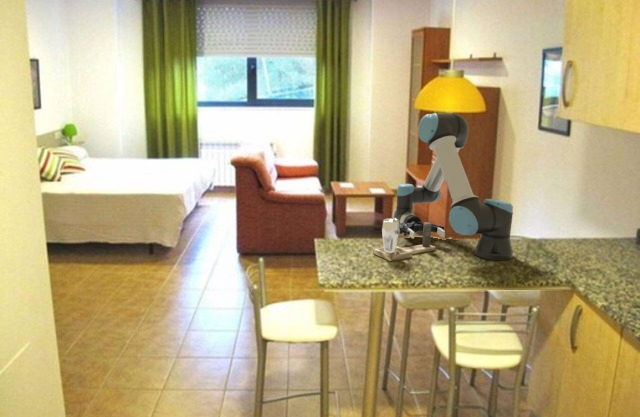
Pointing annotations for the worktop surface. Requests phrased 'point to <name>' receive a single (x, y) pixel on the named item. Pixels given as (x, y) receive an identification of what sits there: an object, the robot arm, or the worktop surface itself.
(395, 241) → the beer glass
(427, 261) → the worktop surface
